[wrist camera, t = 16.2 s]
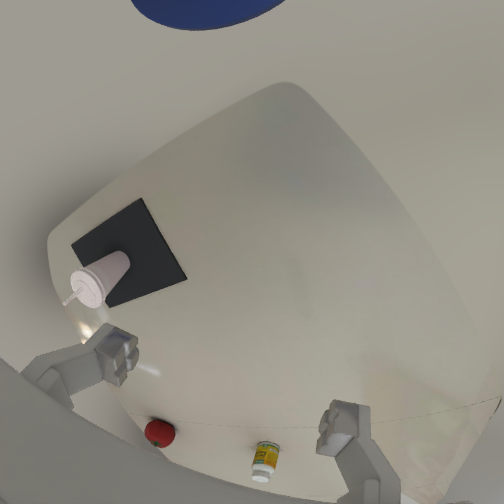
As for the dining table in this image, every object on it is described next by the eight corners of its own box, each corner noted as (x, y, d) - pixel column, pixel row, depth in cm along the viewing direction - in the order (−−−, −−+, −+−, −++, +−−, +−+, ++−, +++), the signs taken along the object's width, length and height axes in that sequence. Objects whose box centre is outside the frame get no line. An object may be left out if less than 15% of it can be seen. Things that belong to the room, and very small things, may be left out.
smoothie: (109, 236, 46) (51, 276, 34) (140, 255, 46) (85, 303, 34) (104, 265, 49) (51, 308, 37) (132, 284, 49) (83, 333, 37)
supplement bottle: (269, 453, 64) (260, 484, 55) (253, 444, 63) (243, 476, 55) (284, 448, 61) (276, 481, 53) (268, 439, 61) (259, 473, 52)
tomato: (179, 425, 67) (169, 446, 61) (177, 437, 71) (167, 456, 65) (151, 412, 68) (139, 432, 61) (150, 424, 72) (139, 443, 65)
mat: (141, 197, 42) (140, 198, 42) (187, 278, 46) (186, 279, 46) (72, 244, 50) (70, 245, 50) (110, 307, 54) (109, 308, 54)
